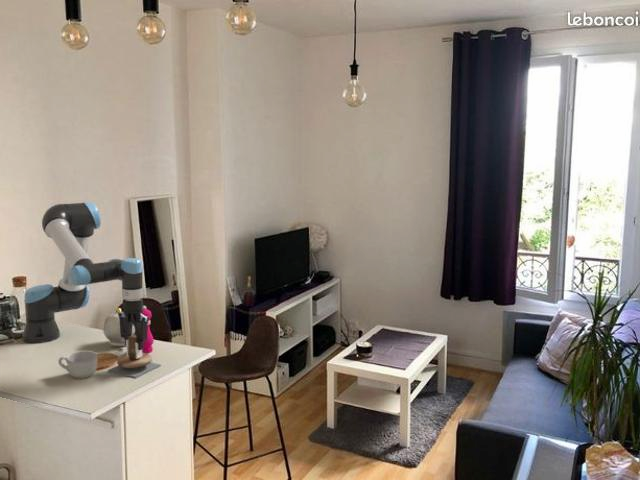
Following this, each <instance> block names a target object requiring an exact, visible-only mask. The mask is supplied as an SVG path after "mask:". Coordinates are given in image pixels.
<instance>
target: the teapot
mask: <svg viewBox="0 0 640 480" xmlns="http://www.w3.org/2000/svg"><path fill="white" fill-rule="evenodd" d="M121 312H122V308H120V307H118V308H117V309H116V311H115V312H110V313H109V315H108V316H107V317H106V319H104V322H103V325H102V332H103V334H104V337H105V338H106V339H107V340H108V341H109V342H108V343H109V346H110V347H113V348H123V347H126V346H125V339H124V338H123V337H121V334H120V319H119V316H118V313H121ZM135 334H136V333H135V327H134V325H133V326H132V333H131V335H135Z"/></svg>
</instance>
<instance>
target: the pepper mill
mask: <svg viewBox="0 0 640 480" xmlns="http://www.w3.org/2000/svg"><path fill="white" fill-rule="evenodd" d="M142 312H143V315H144V316H148V317H149V319H148V322H147V340H145V341H143V349H142V353H146V354H150V353H152V352H153V347H154V346H153V345H154V336H153V334H152V332H151V329H150V325H151V318H152V311H150V310H149V309H148V308H147V306H146V305H143V308H142Z"/></svg>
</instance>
